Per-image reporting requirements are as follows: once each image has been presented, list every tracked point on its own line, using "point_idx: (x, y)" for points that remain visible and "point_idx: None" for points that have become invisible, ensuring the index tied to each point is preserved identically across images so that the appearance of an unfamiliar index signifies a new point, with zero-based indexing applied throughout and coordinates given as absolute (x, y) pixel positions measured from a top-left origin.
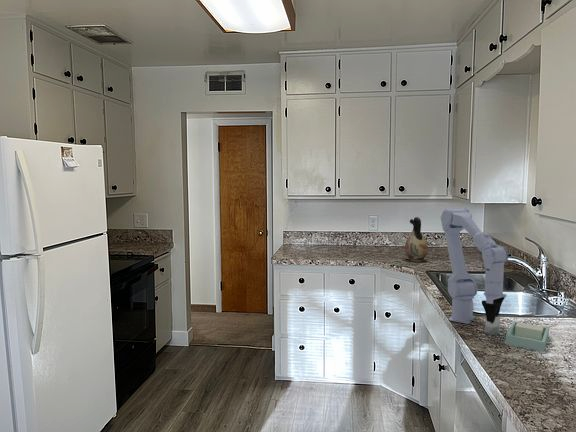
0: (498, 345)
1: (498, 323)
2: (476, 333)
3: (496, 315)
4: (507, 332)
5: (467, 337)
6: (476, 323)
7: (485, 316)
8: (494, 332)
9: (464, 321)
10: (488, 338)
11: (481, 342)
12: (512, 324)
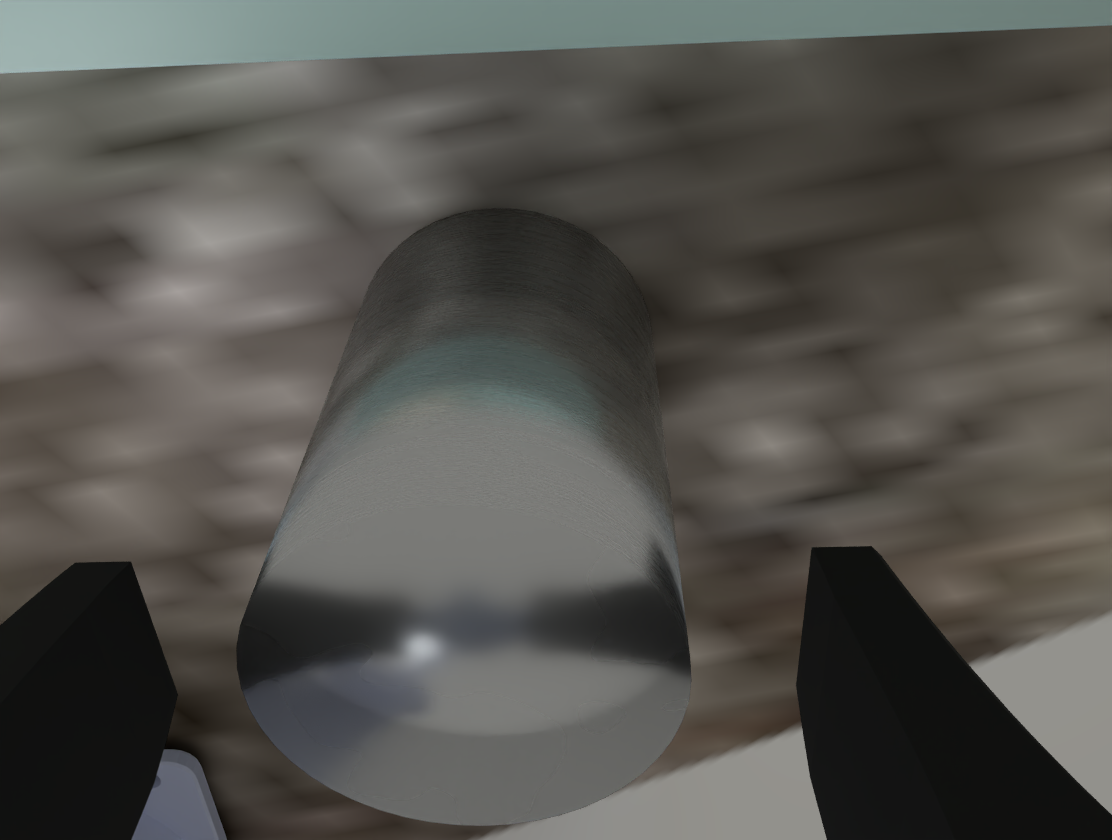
0: (1087, 103)
1: (553, 412)
2: None
3: (255, 625)
4: (991, 20)
5: None
6: None
7: (518, 799)
8: (641, 344)
9: (169, 831)
10: (727, 365)
11: (1047, 420)
12: (3, 47)
